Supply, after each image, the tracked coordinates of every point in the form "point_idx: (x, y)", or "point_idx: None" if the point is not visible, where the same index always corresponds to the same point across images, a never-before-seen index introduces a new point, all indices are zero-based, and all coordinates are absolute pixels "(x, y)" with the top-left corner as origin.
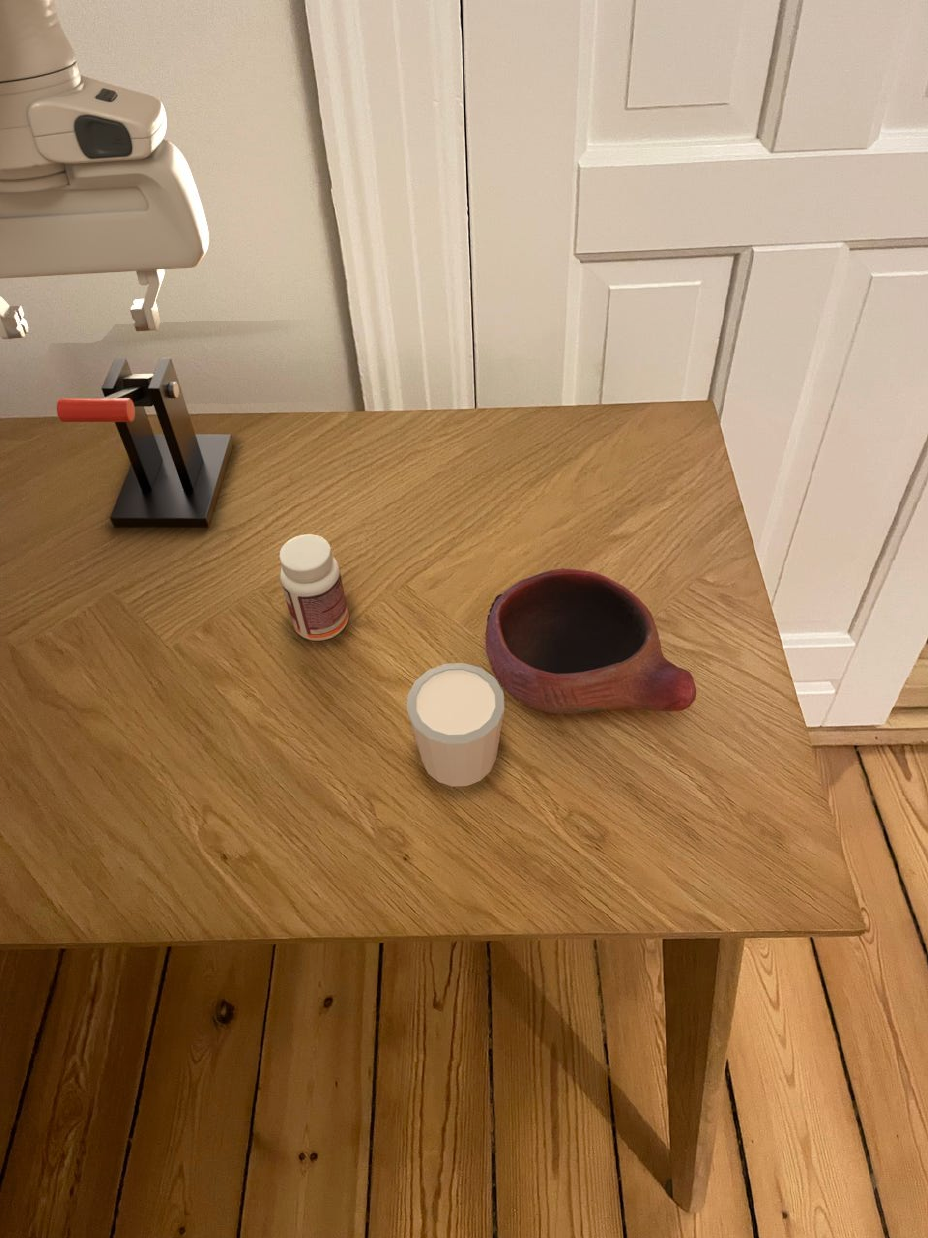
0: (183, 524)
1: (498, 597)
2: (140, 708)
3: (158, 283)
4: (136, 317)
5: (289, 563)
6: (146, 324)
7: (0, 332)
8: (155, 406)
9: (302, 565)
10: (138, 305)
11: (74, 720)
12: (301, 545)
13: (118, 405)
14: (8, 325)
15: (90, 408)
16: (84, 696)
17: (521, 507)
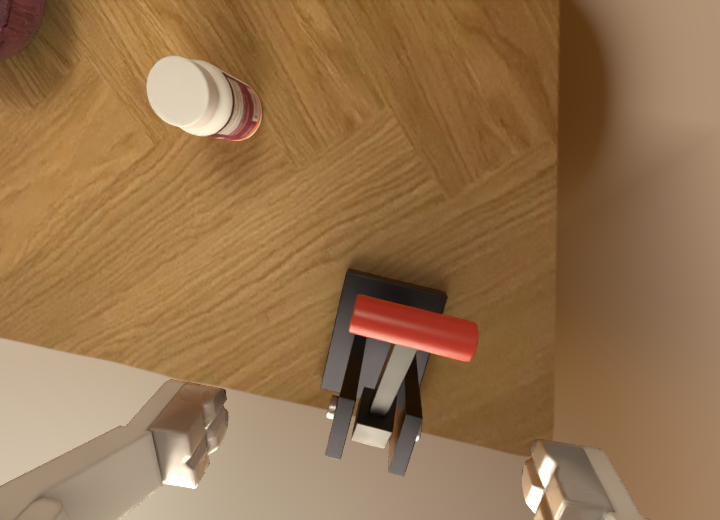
0: (372, 275)
1: (5, 32)
2: (419, 22)
3: (2, 491)
4: (190, 413)
5: (194, 72)
6: (179, 390)
7: (607, 463)
8: (356, 381)
9: (178, 65)
10: (171, 453)
11: (489, 18)
12: (182, 106)
13: (366, 313)
14: (583, 477)
15: (417, 320)
16: (478, 51)
17: (48, 225)
